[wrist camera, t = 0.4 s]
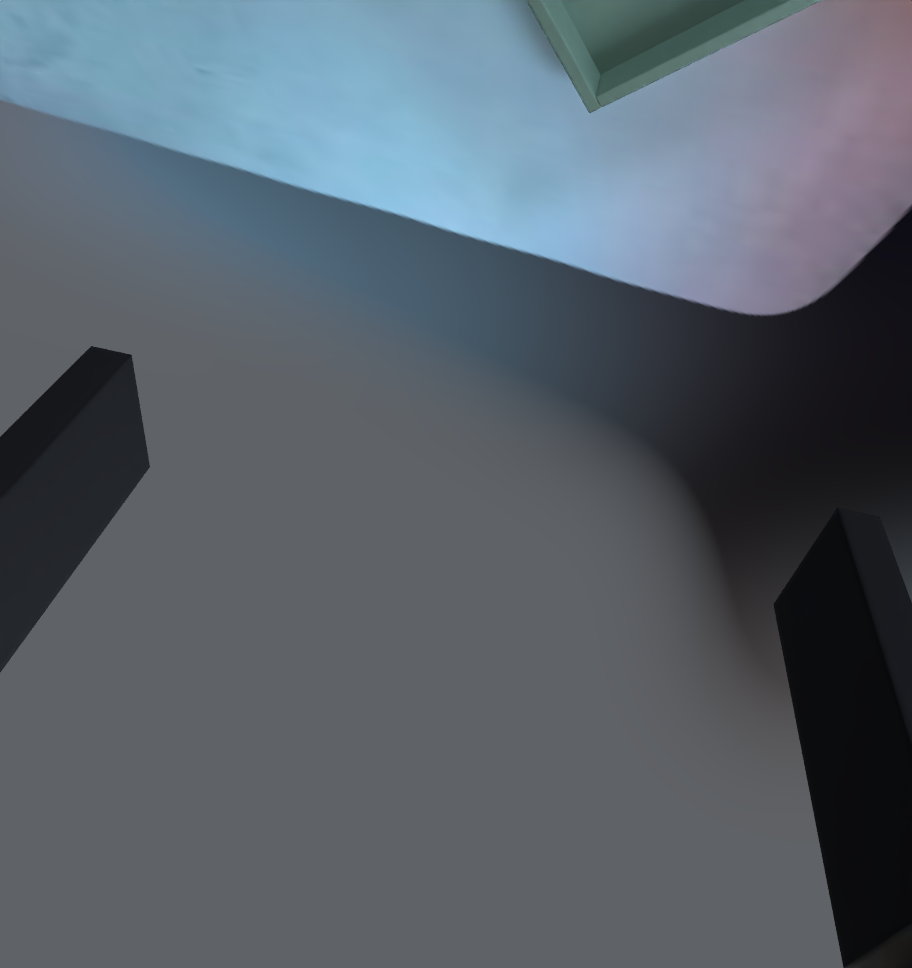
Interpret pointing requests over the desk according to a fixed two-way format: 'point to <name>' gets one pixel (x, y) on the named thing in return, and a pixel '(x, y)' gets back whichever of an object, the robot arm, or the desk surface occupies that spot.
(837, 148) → the desk surface
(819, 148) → the desk surface
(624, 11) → the tray
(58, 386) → the robot arm
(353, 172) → the desk surface
